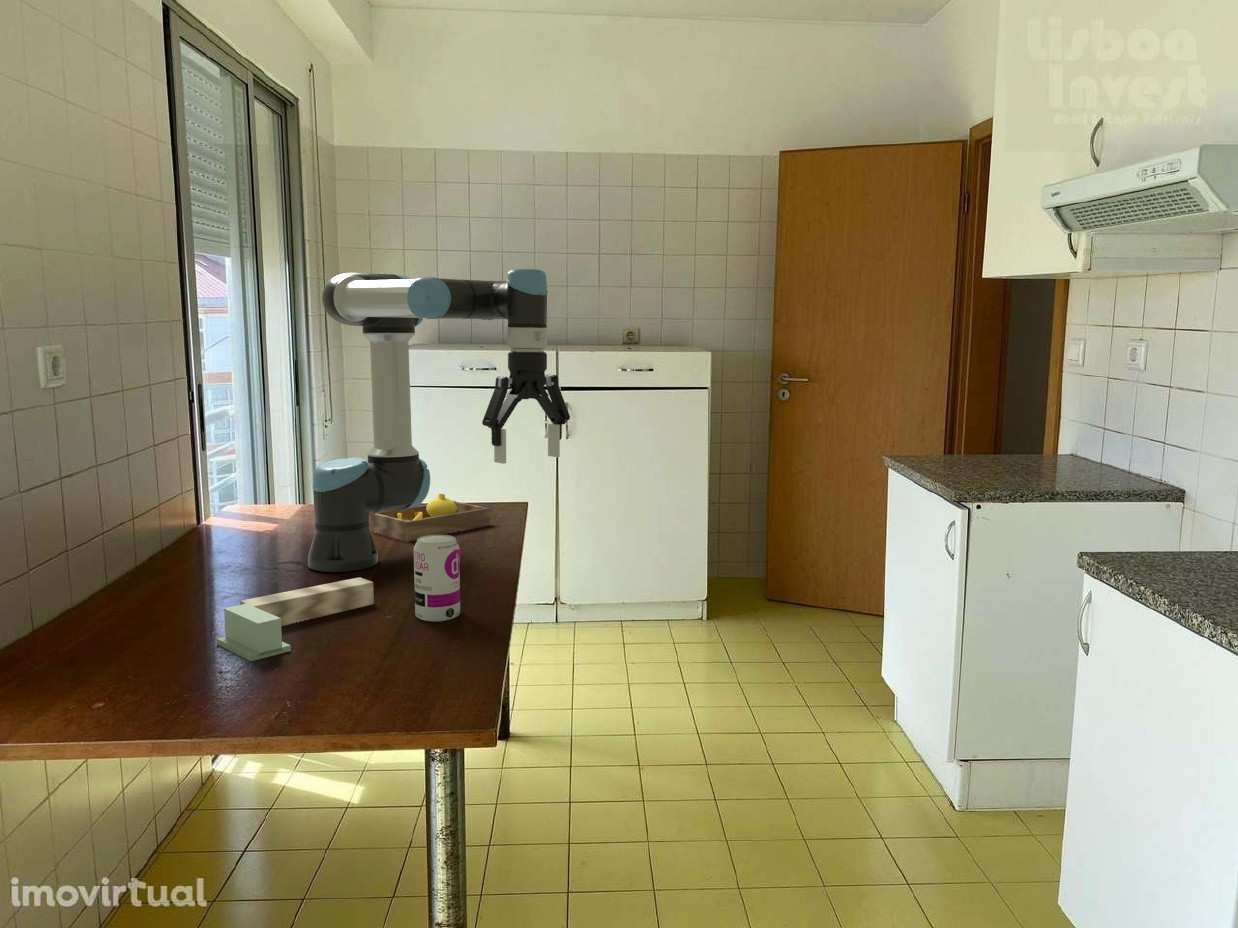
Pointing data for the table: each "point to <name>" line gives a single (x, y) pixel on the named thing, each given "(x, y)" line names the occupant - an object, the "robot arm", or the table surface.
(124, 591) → the table surface
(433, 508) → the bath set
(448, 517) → the tray
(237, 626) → the stepped block
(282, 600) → the beam
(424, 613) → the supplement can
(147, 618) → the table surface
